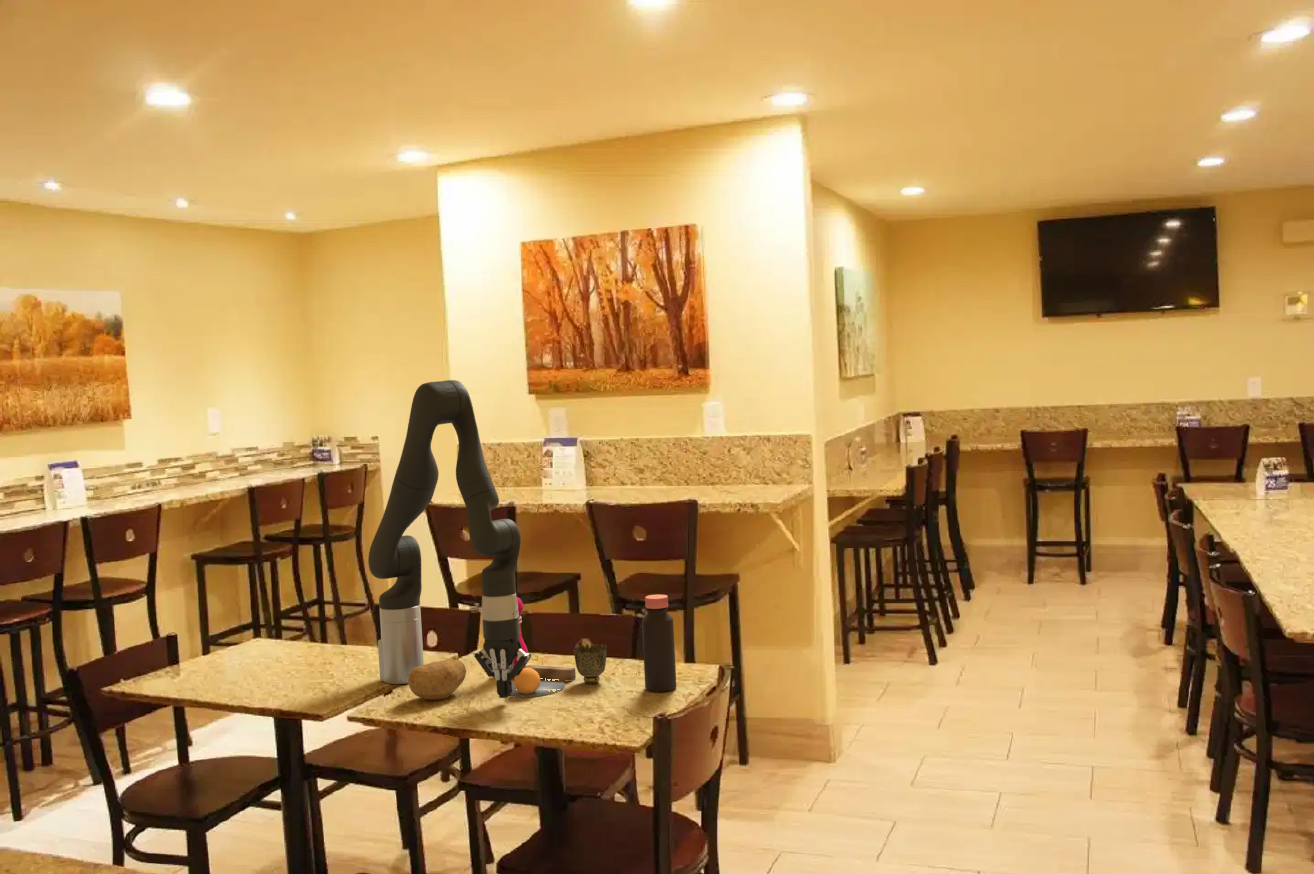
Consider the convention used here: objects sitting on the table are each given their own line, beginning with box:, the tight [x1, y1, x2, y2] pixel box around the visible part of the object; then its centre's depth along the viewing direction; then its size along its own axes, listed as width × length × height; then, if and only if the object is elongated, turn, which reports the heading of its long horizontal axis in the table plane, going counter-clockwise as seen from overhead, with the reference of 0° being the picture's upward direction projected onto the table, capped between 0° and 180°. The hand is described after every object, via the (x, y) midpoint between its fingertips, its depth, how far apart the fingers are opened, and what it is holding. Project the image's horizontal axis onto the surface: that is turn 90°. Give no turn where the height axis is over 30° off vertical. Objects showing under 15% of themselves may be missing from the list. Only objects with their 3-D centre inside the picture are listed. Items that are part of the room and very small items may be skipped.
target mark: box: [509, 679, 566, 698], centre depth 238 cm, size 14×14×1 cm
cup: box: [572, 643, 608, 685], centre depth 240 cm, size 8×7×8 cm
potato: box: [407, 658, 467, 701], centre depth 234 cm, size 10×14×8 cm
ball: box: [513, 668, 540, 694], centre depth 234 cm, size 6×6×6 cm
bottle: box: [641, 593, 677, 693], centre depth 232 cm, size 7×7×20 cm
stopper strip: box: [524, 664, 577, 681], centre depth 245 cm, size 12×2×2 cm, turn 68°
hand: (504, 696), depth 227 cm, fingers closed
